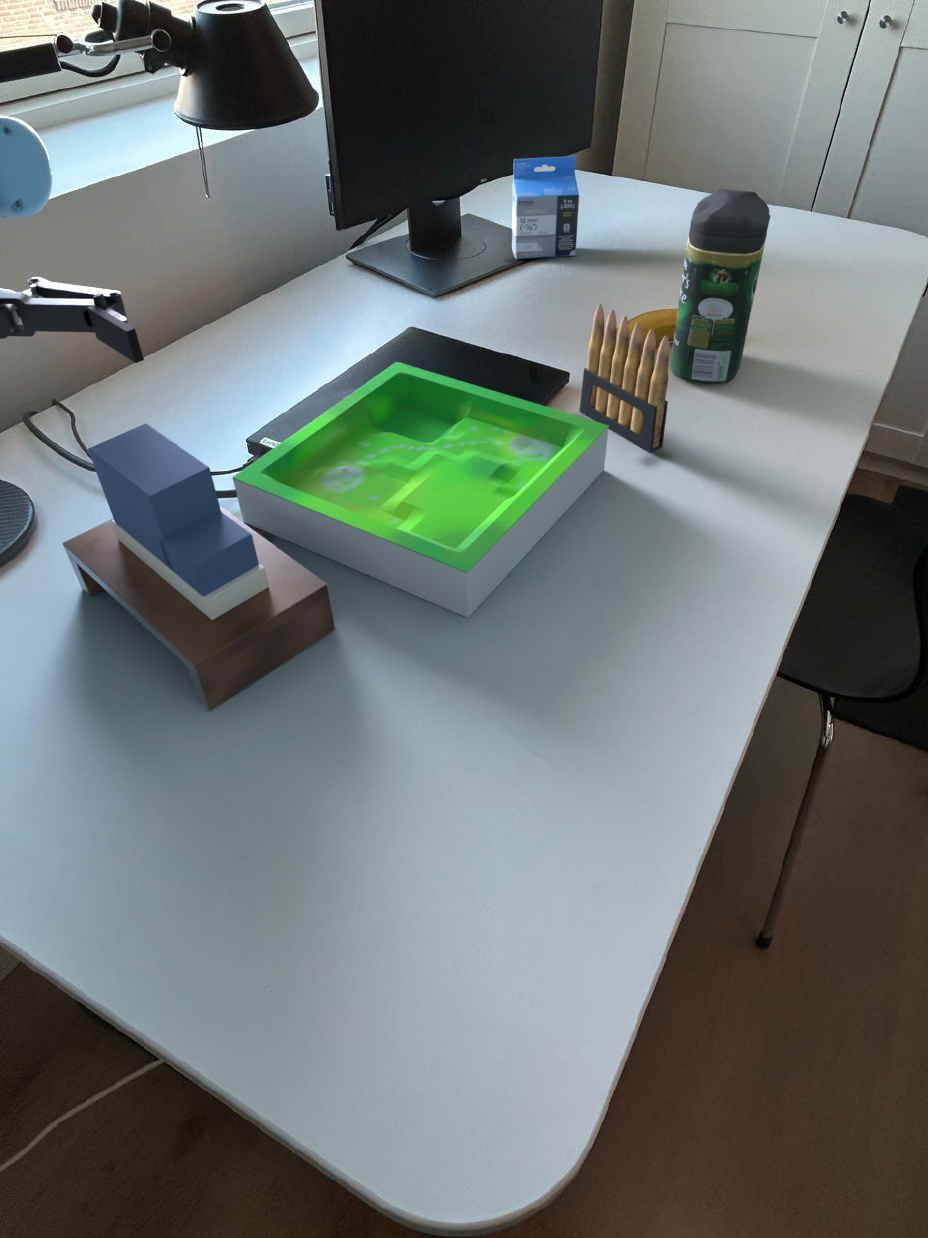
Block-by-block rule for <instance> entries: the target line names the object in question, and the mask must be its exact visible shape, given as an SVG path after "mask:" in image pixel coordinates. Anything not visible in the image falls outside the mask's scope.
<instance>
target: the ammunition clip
mask: <svg viewBox="0 0 928 1238" xmlns="http://www.w3.org/2000/svg"><path fill="white" fill-rule="evenodd" d="M605 322H606V323H605ZM617 325H618V323H617V315H616V312H615V310H614V309H611V310H610V312H609V314H608V316H607V319H606V321H605V312H604V306H603V304H602V303H599V304H598V306H597V307H596V310H595V312H594V317H593V320H592V328H591V333H590V340H589V342H588V348H587V361H586V367H585V368H583V374H582V384H581V393H580V401H579V412H580V413H581V414H583V415H585V416H586V417H588V418H590V419H591V420H593V421H596V422H599V423H603V424H606V425H609V428H608V430H610V431H612V432H613V433H615V434H617V435H619V436H620V437H622V438H624V439H626V440H627V441H628V442H631V443H632V444H634V445H635V446H637V447H638V448H640V449H642V450H643V451H646V452H647V453H648V454H651V453H653V452H656V451H657V450H658V449H661V448H663V447H664V438H665V431H666V430H665V429H666V421H667V414H668V405H669V402H668V401H667V400H666V398H667V393H668V392H667V391H668V384H669V363H670V341H669V337H668V335H664V336H663V337H662V339H661V341H660V344H659V346H658V349H656V348H657V346H656V344H657V343H656V341H657V340H656V334H655V333H656V332H655V330H654V328H651V329H650V330H649V331H648V333H647V335H646V337H645V340H644V343H643V330H642V325H641V323H640V322H639V321H637V322H636V323H635V326H634V327H633V330H632V332H631V335H630V323H629V319H628V317H627V315H624V316H623V318H622V319H621V321H620V324H619V327H618V326H617ZM642 346H643V347H642ZM656 350H657V353H656Z"/></svg>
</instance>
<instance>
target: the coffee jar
mask: <svg viewBox="0 0 928 1238" xmlns="http://www.w3.org/2000/svg"><path fill="white" fill-rule="evenodd" d="M770 219H771V214H770V207H769V206H768V204H767V203H766V202H765V200H763V199H762V198H761V197H760V196H759V195H758V193H756V192H755V191H749V190H739V189H723V188H719V189H717V190H716V191H715V192H713V193H711V194H709V195H707V196H706V197H704V198H702V199H701V200H700V201H699V202H698V203H697V204H696V206H695V208H694V210H693V212H692V216H691V220H690V227H689V231H688V236H687V242H686V249H685V255H684V261H683V262H684V263H683V267H682V268H683V269H682V275H681V284H680V290H679V298H678V306H677V313H676V320H675V327H674V334H673V341H672V347H671V348H672V349H671V354H670V355H671V357H670V371H671V373H672V374H673V376H675V377H678V378H680V379H682V380H684V381H687V382H689V383H692V384H695V385H705V386H710V385H717V384H718V385H719V384H727V383H730V382H731V381H733V379H735V378H736V376H737V374H738V372H739V371H740V367H741V362H742V360H743V359H742V358H743V353H744V349H745V344H746V339H747V334H748V328H749V323H750V318H751V313H752V308H753V303H754V298H755V295H756V290H757V284H758V279H759V275H760V269H761V264H762V260H763V255H764V250H765V244H766V240H767V234H768V229H769V225H770Z"/></svg>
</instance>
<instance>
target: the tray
mask: <svg viewBox="0 0 928 1238" xmlns="http://www.w3.org/2000/svg"><path fill="white" fill-rule="evenodd" d="M608 437H609V425H606V424H603V423H599V422H597V421H595V420H593V419H589V418H585V417H582V416H579V415H576V414H572V413H569V412H567V411H563V410H559V409H556V408H552V407H549V406H545V405H542V404H539V403H537V402H536V403H535V402H533V401H529V400H526V399H522V398H519V397H516V396H512V395H509V394H505V393H502V392H499V391H495V390H492V389H488V388H486V387H482V386H480V385H475V384H472V383H468V382H466V381H463V380H459V379H456V378H452V377H449V376H446V375H443V374H439V373H436V372H433V371H429V370H426V369H422V368H419V367H415V366H411V365H409V364H406V363H403V362H399V361H395V362H394V363H392V364H391V365H390V366H388V367H386V368H385V369H384V370H383V371H381V372H380V373H378V374H377V375H376V376H374V377H373V378H371V379H370V380H368V381H367V382H365V383H364V384H363V385H361V386H360V387H359V388H357V389H355V390H353V392H351V393H350V394H348V395H347V396H345V397H344V398H343V399H341V400H340V401H339V402H337V403H336V404H334V405H333V406H331V407H330V408H329V409H327V410H325V411H324V412H322V413H321V414H320V415H318V416H317V417H316V418H314V419H313V420H311V421H310V422H308V424H306V425H305V426H303V427H301V428H300V429H299V430H297V431H296V432H295V433H293V434H291V435H290V436H288V437H287V438H285V440H282V442H280V443H279V444H277V445H276V446H275V447H273V448H272V449H270V450H269V451H267V452H265V454H263V455H262V456H261V457H259V458H257V459H256V460H255V461H253V462H252V463H251V464H249V465H247V466H246V467H245V468H243V469H242V470H240V471H239V472H238V473H236V474H235V475H234V476H232V481H233V485H234V489H235V493H236V498H237V501H238V506H239V509H240V513H241V517H242V522H243V523H244V524H246V525H249V526H253V528H254V527H255V528H257V529H259V530H262V531H264V532H266V533H268V534H270V535H274V536H275V537H277V538H280V539H282V540H285V541H288V542H289V543H292V544H294V545H297V546H299V547H301V548H303V549H306V550H307V551H308V550H309V551H311V552H312V553H315V554H318V555H320V556H322V557H325V558H327V559H329V560H331V561H334V562H336V563H338V564H341V565H343V566H345V567H347V568H350V569H353V570H355V571H357V572H359V573H362V574H364V575H366V576H369V577H371V578H373V579H376V580H378V581H380V582H382V583H385V584H387V585H390V586H392V587H395V588H396V589H399V590H400V591H401V590H402V591H404V592H406V593H408V594H410V595H413V596H414V597H415V596H416V597H418V598H420V599H423V600H424V601H427V602H429V603H431V604H434V605H436V606H439V607H441V608H443V609H445V610H448V611H451V612H453V613H455V614H458V615H460V616H462V617H465V618H466V619H468V618H470V617H471V615H473V614H474V612H475V611H476V610H477V609H478V608H479V607H480V606H481V605H482V603H483V602H484V601H485V600H486V599H487V598H488V597H489V596H490V595H491V594H492V592H494V590H495V589H496V588H497V587H498V586H499V585H500V584H501V583H502V582H503V580H504V579H505V578H506V577H507V576H509V574H510V573H511V572H512V571H513V570H514V569H515V567H516V566H518V564H519V563H520V562H521V561H522V560H523V559H524V558H525V557H526V556H527V555H528V554H529V553H530V551H532V549H533V548H534V547H535V545H536V544H537V543H539V541H540V540H541V539H542V538H543V537H544V536H545V535H546V534H547V533H548V532H549V530H550V529H551V528H552V527H553V526H554V525H555V524H556V523H557V522H558V521H559V520H560V519H561V517H562V516H563V515H564V514H565V513H566V512H567V511H568V509H569V508H571V506H572V505H573V504H574V503H576V501H577V500H578V499H579V498H580V497H581V495H582V494H583V493H584V492H585V491H586V490H587V489H588V488H589V487H590V486H591V484H593V482H594V481H596V479H597V478H598V477H599V476H600V475H601V474H602V473H603V472H604V470H605V464H606V456H607V445H608Z"/></svg>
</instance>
